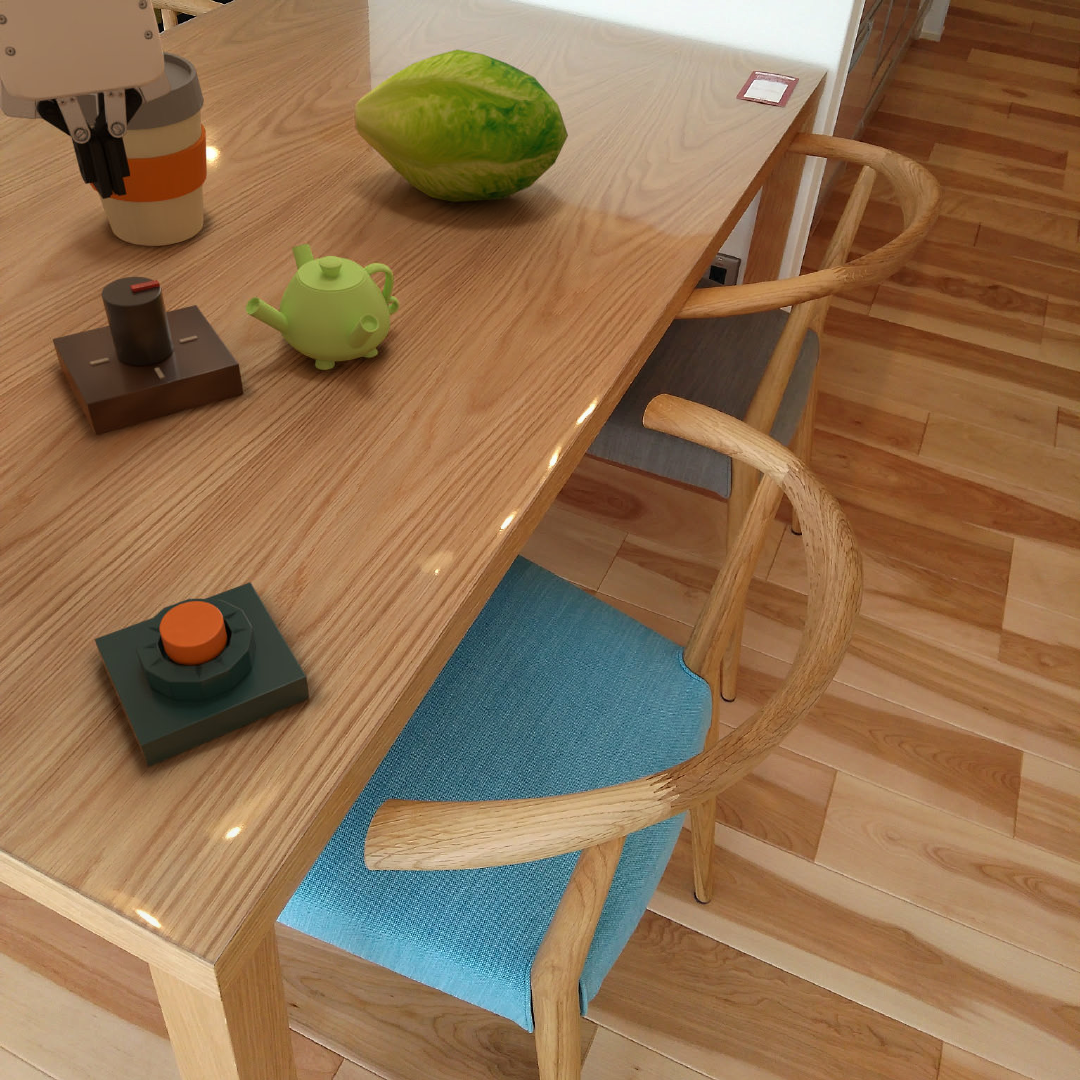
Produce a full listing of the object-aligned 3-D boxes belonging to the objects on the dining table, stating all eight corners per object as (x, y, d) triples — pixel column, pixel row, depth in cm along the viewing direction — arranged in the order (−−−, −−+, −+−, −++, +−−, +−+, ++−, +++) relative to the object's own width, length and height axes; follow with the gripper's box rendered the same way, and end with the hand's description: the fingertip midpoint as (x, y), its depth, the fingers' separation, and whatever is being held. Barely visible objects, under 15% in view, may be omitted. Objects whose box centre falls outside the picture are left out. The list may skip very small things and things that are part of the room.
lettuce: (351, 214, 106) (363, 168, 119) (567, 224, 108) (556, 178, 121) (344, 63, 98) (358, 31, 110) (579, 77, 100) (567, 44, 112)
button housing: (148, 767, 59) (134, 727, 56) (102, 661, 64) (87, 619, 61) (309, 698, 63) (304, 657, 60) (254, 604, 68) (247, 562, 66)
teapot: (417, 325, 94) (416, 241, 88) (375, 395, 86) (372, 308, 80) (302, 303, 95) (293, 218, 89) (250, 370, 87) (237, 282, 81)
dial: (126, 371, 81) (110, 307, 77) (109, 343, 83) (93, 280, 79) (180, 357, 83) (168, 294, 79) (163, 330, 85) (149, 268, 81)
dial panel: (95, 435, 80) (86, 402, 77) (61, 369, 85) (51, 336, 83) (243, 393, 85) (238, 362, 83) (201, 334, 90) (196, 302, 88)
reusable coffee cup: (180, 265, 98) (150, 109, 88) (65, 238, 100) (24, 82, 90) (244, 210, 107) (224, 62, 97) (138, 186, 109) (107, 39, 99)
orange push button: (176, 674, 59) (171, 655, 58) (156, 633, 61) (150, 614, 60) (236, 651, 61) (232, 632, 60) (214, 612, 63) (210, 592, 62)
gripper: (148, -136, 64) (195, 149, 77) (-117, -123, 58) (-17, 186, 71) (188, -105, 60) (231, 192, 73) (-94, -88, 53) (8, 234, 66)
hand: (108, 188), depth 72 cm, fingers closed
